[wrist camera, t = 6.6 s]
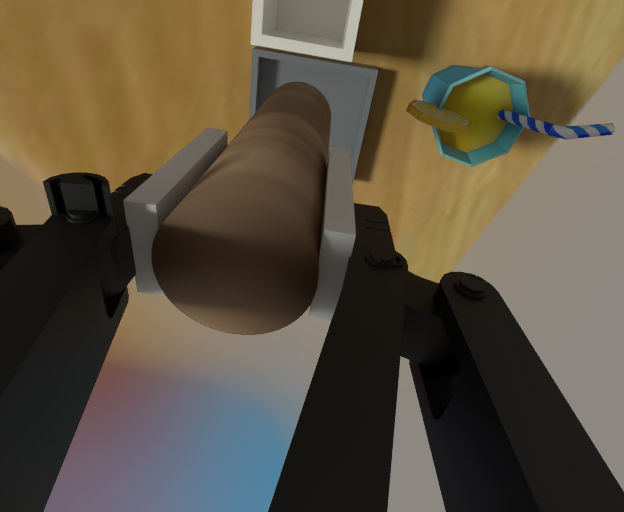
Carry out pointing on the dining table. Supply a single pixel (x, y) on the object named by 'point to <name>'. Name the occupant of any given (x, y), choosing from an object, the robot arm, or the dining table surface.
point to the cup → (484, 114)
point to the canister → (307, 26)
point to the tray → (329, 81)
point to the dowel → (252, 221)
